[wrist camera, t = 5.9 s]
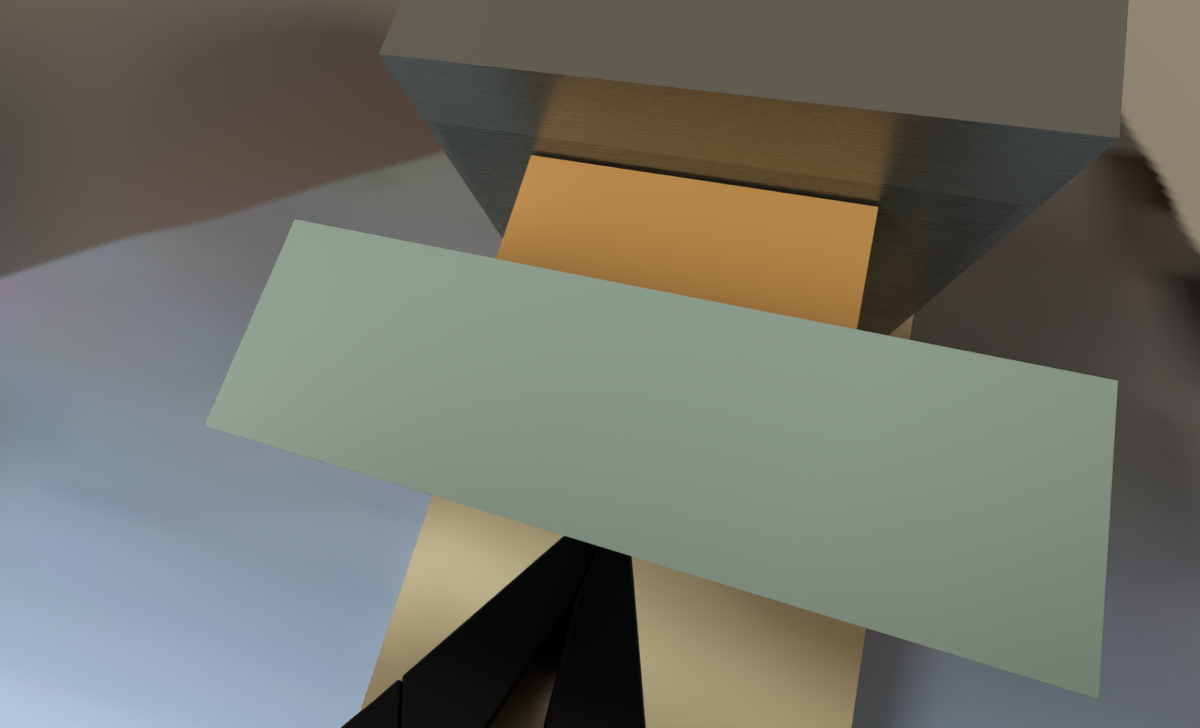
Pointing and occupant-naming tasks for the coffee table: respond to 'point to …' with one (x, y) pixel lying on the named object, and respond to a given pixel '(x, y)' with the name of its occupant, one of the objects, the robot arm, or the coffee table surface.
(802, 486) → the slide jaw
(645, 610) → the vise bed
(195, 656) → the coffee table surface
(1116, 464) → the coffee table surface
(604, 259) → the block
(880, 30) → the block
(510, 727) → the robot arm
